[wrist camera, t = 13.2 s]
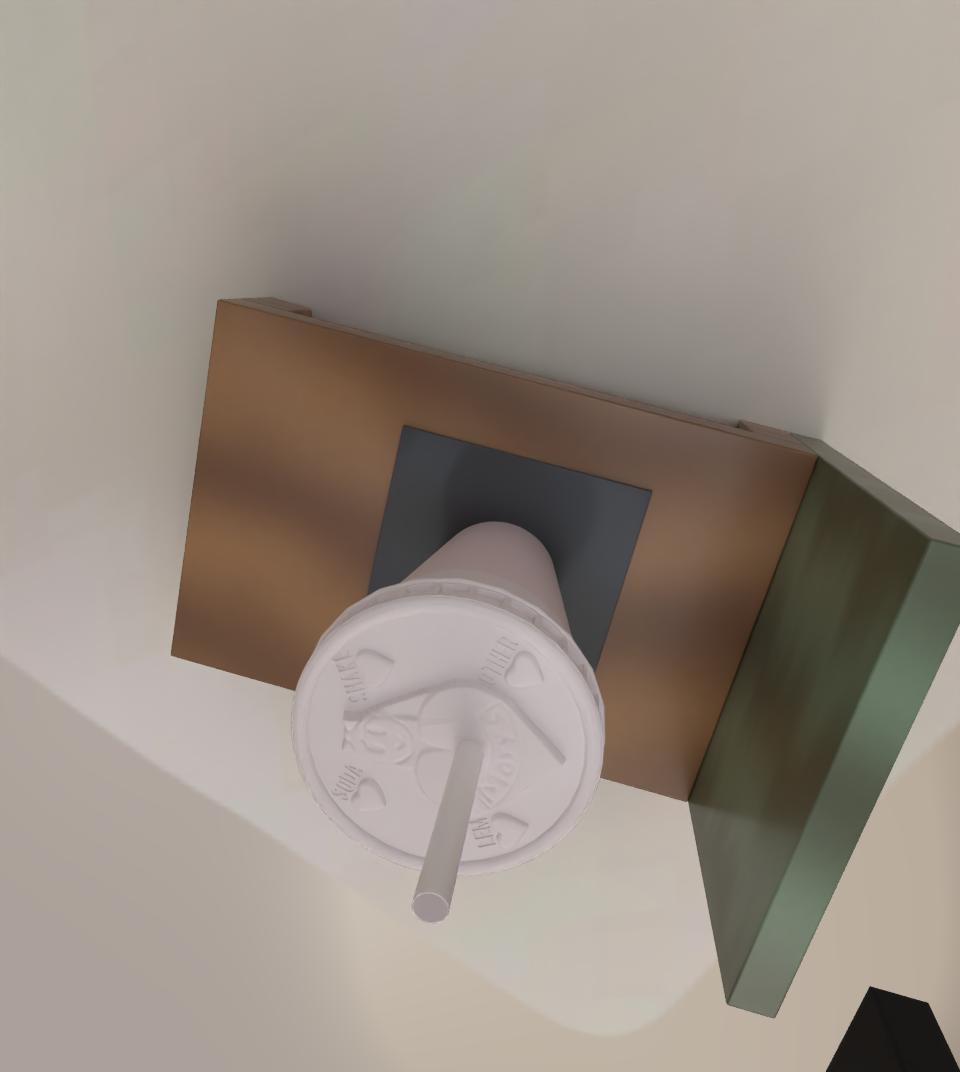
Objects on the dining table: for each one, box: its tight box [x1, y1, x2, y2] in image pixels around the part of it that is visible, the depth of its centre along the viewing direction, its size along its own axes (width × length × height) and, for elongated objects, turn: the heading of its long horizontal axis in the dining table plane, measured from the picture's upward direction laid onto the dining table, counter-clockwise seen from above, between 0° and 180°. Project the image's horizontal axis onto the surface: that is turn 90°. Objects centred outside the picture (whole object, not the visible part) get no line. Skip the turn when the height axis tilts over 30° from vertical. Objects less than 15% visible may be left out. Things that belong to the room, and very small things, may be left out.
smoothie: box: [291, 521, 605, 924], centre depth 19 cm, size 6×6×14 cm
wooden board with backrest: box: [171, 297, 960, 1018], centre depth 24 cm, size 12×19×12 cm, turn 76°
